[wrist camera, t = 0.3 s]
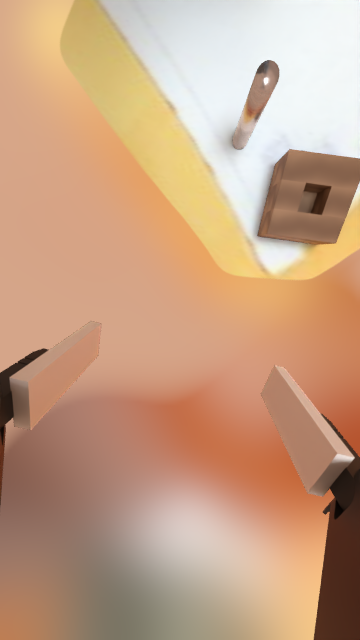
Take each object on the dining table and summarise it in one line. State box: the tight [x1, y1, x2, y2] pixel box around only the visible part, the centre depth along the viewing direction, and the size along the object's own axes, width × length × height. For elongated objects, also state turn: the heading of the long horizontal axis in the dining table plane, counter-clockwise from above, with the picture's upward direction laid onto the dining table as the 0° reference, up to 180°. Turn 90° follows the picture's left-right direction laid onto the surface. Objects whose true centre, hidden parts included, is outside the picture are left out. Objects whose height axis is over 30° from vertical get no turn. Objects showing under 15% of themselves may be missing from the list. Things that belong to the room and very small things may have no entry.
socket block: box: [258, 149, 360, 244], centre depth 31 cm, size 11×11×5 cm
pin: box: [232, 60, 279, 149], centre depth 25 cm, size 2×2×12 cm
